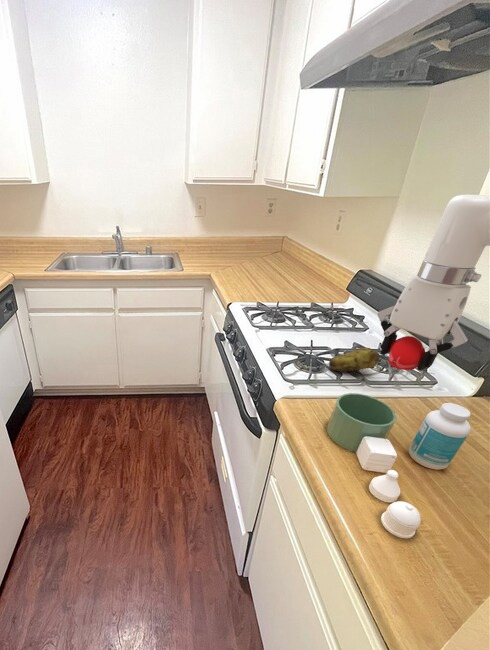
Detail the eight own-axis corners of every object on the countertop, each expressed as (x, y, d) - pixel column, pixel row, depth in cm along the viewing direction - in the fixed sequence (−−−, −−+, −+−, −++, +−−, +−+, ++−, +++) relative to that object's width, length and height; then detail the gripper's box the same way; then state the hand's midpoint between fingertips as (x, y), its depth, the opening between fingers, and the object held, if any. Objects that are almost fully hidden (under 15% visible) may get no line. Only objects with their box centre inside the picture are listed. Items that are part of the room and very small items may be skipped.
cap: (420, 377, 68) (434, 350, 65) (386, 370, 70) (398, 343, 67) (415, 360, 74) (428, 334, 71) (384, 353, 76) (395, 328, 73)
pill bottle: (455, 469, 73) (490, 419, 66) (425, 473, 72) (456, 423, 65) (427, 445, 79) (456, 397, 72) (399, 448, 78) (425, 400, 71)
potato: (328, 360, 112) (335, 337, 108) (372, 369, 108) (381, 346, 103) (326, 372, 106) (334, 348, 101) (373, 382, 101) (383, 358, 97)
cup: (392, 440, 80) (406, 413, 76) (363, 461, 75) (377, 433, 70) (345, 413, 88) (355, 387, 84) (316, 430, 83) (325, 403, 78)
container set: (354, 454, 76) (363, 435, 73) (379, 457, 76) (389, 438, 73) (386, 535, 60) (399, 515, 57) (419, 540, 59) (434, 521, 56)
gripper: (511, 283, 58) (458, 374, 67) (404, 260, 70) (372, 340, 79) (493, 290, 54) (440, 385, 64) (384, 264, 66) (353, 348, 76)
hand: (403, 359), depth 72 cm, fingers closed on cap, 6 cm apart
